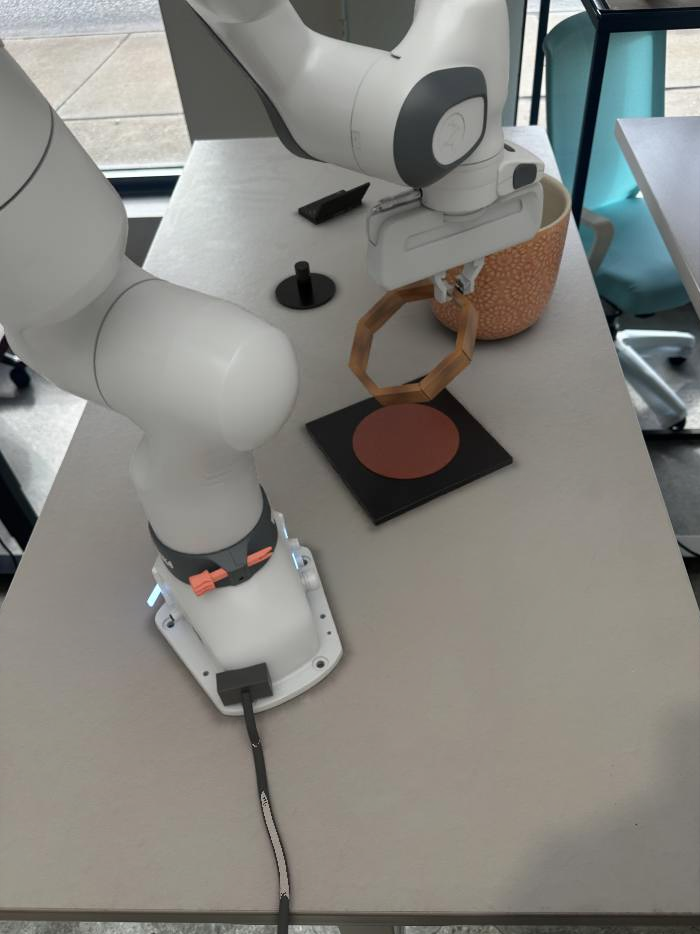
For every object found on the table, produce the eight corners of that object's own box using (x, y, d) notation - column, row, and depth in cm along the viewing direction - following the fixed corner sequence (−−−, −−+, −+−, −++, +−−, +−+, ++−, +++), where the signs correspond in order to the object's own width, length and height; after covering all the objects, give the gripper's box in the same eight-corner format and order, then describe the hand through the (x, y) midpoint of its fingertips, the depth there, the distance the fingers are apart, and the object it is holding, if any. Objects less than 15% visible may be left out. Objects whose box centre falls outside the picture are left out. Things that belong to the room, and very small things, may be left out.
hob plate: (512, 463, 93) (513, 456, 92) (375, 526, 88) (375, 520, 87) (431, 378, 105) (431, 371, 104) (305, 429, 99) (304, 422, 99)
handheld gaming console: (334, 182, 141) (349, 151, 132) (359, 211, 143) (376, 183, 133) (292, 214, 138) (305, 185, 128) (319, 243, 139) (333, 217, 129)
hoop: (501, 334, 80) (493, 321, 78) (402, 428, 82) (391, 418, 80) (430, 271, 89) (421, 258, 87) (342, 357, 91) (331, 347, 89)
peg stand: (346, 296, 119) (343, 269, 115) (290, 316, 117) (285, 289, 113) (319, 268, 125) (316, 242, 121) (266, 287, 122) (260, 260, 119)
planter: (398, 339, 111) (393, 221, 97) (449, 269, 123) (451, 154, 108) (529, 372, 105) (545, 250, 90) (570, 294, 116) (590, 176, 102)
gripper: (380, 218, 68) (388, 340, 78) (558, 159, 73) (542, 280, 84) (349, 191, 71) (360, 311, 82) (521, 137, 77) (510, 256, 88)
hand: (454, 295), depth 83 cm, fingers closed on hoop, 1 cm apart
